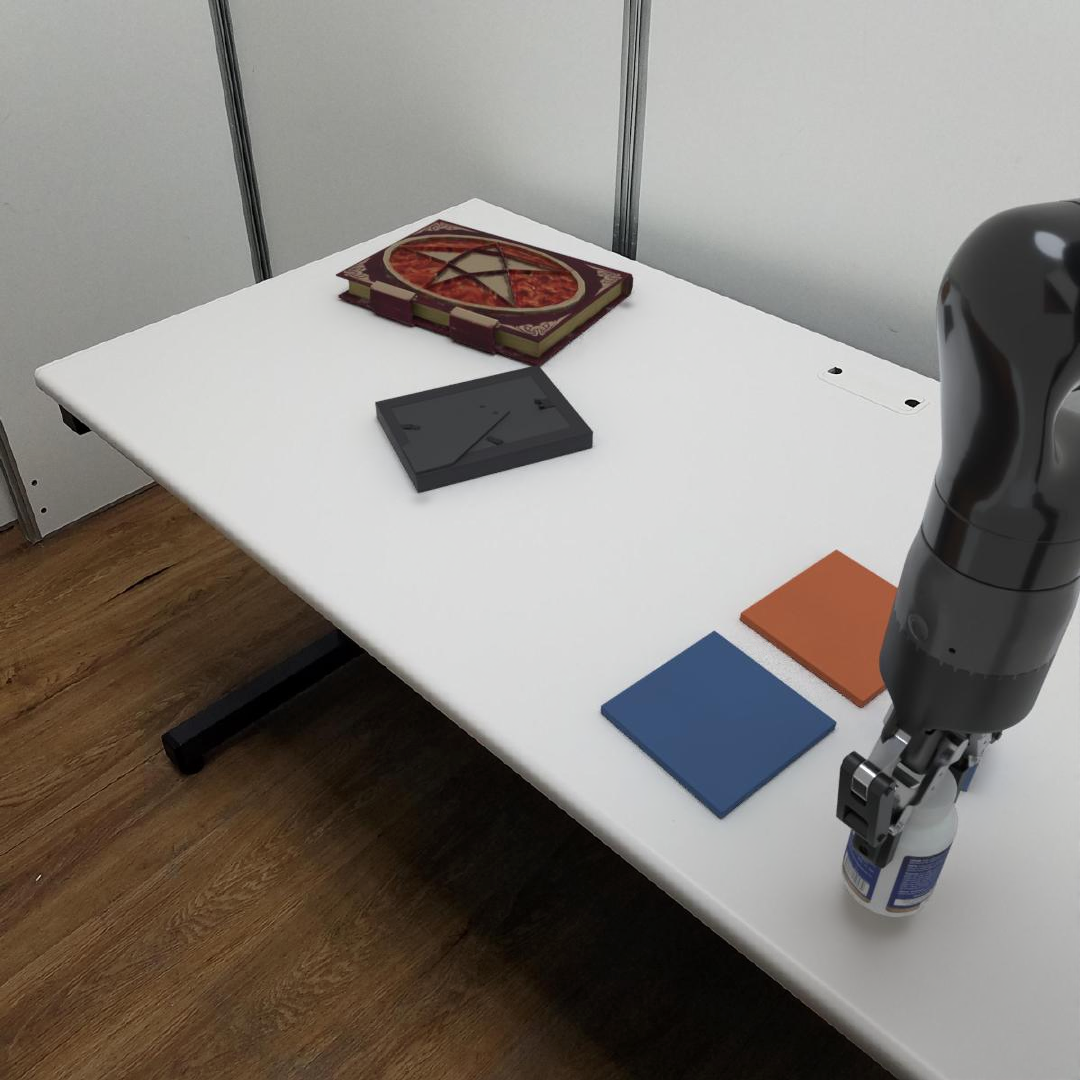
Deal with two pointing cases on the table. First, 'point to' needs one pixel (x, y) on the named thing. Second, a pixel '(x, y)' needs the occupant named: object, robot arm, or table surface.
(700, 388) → the table surface
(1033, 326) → the robot arm
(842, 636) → the terracotta mat
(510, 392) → the picture frame
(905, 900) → the pill bottle
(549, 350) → the book
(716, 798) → the blue mat
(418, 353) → the table surface
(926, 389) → the table surface
